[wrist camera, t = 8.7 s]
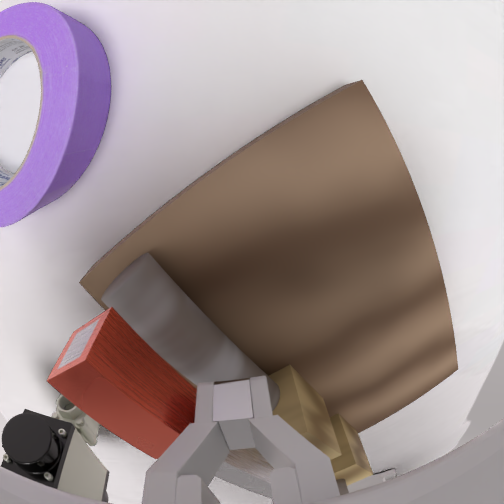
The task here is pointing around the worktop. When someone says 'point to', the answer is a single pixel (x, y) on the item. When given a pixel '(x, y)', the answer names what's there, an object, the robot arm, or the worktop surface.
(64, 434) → the pneumatic valve
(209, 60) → the worktop surface
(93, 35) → the masking tape
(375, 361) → the pipe board
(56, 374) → the red lever
